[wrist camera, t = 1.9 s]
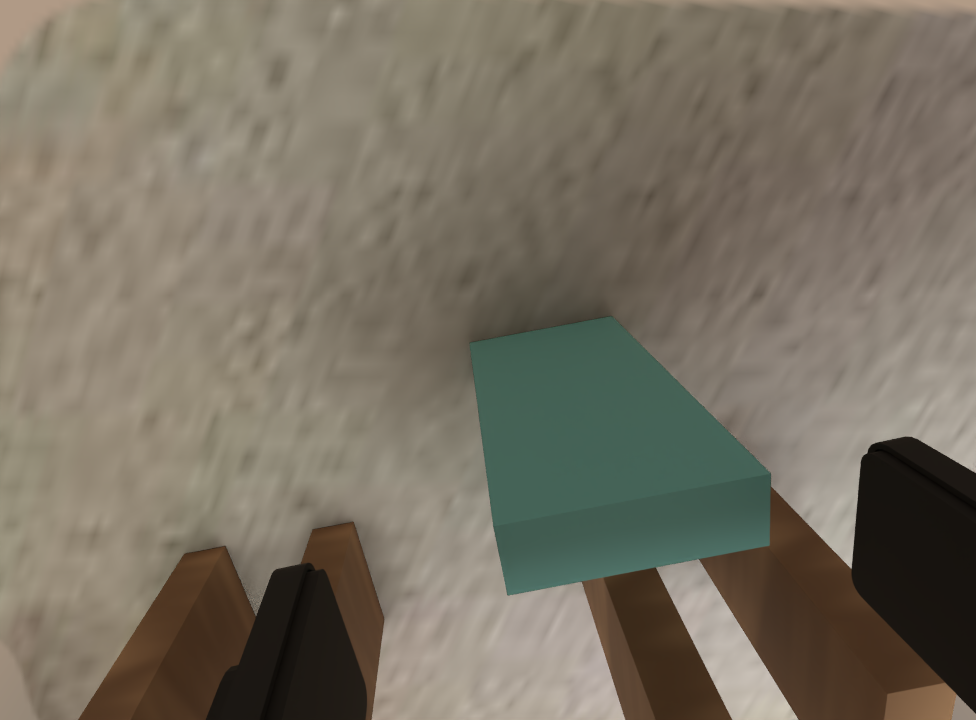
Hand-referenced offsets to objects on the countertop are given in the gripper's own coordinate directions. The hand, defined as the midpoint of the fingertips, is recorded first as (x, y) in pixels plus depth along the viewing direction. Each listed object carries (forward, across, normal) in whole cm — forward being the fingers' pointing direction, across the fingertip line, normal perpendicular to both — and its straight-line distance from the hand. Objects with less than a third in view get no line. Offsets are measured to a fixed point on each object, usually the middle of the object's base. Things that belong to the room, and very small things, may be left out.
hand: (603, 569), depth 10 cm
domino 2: (+11, -2, +8) cm, 13 cm away
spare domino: (+11, -1, 0) cm, 11 cm away
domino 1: (+10, -7, +8) cm, 15 cm away
